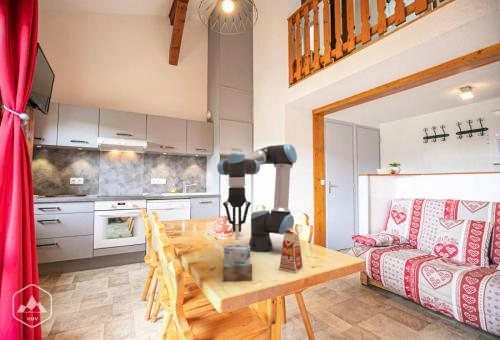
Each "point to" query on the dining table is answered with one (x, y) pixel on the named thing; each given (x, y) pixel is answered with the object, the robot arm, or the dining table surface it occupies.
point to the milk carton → (291, 252)
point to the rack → (238, 272)
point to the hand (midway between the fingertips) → (237, 239)
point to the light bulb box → (236, 254)
